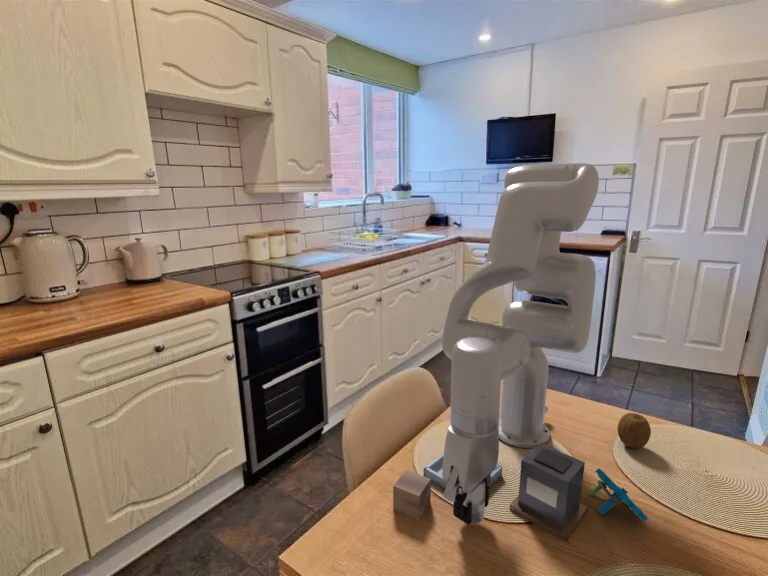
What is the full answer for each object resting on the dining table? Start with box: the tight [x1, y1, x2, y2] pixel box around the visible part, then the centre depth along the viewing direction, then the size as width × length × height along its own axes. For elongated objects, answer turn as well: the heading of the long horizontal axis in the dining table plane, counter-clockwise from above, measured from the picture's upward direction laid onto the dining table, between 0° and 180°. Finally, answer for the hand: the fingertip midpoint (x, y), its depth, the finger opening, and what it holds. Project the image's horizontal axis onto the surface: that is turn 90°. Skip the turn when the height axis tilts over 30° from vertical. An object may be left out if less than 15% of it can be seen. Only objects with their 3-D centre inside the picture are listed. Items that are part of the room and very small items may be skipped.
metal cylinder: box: [459, 480, 486, 525], centre depth 70 cm, size 4×4×6 cm
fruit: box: [617, 412, 652, 449], centre depth 91 cm, size 6×6×8 cm
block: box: [392, 469, 432, 521], centre depth 75 cm, size 5×5×5 cm
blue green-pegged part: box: [589, 468, 649, 522], centre depth 73 cm, size 11×6×10 cm
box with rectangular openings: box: [509, 443, 588, 542], centre depth 73 cm, size 9×10×10 cm
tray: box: [423, 452, 503, 490], centre depth 83 cm, size 11×11×2 cm
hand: (470, 509), depth 71 cm, fingers closed on metal cylinder, 4 cm apart
